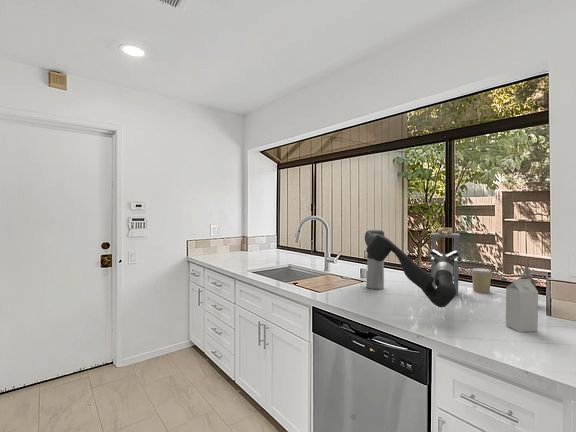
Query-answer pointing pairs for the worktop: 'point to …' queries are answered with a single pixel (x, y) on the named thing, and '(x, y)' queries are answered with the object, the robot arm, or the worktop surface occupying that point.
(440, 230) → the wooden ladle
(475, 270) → the coffee cup
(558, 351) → the worktop surface
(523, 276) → the squeeze bottle
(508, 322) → the milk carton
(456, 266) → the grey stand
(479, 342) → the worktop surface
